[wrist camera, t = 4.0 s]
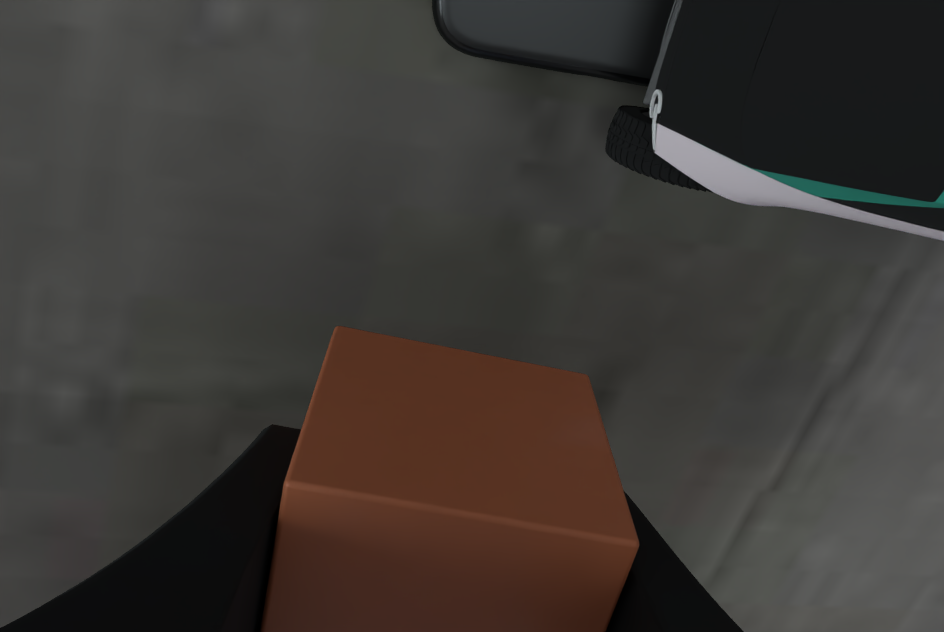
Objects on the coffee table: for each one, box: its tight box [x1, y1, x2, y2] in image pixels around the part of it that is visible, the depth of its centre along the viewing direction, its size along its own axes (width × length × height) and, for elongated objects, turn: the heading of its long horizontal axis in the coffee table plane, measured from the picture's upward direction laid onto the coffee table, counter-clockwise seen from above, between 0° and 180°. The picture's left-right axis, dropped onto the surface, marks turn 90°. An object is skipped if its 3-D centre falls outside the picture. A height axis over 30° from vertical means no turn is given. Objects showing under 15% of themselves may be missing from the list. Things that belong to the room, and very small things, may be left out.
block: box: [260, 326, 639, 632], centre depth 11 cm, size 4×4×4 cm
